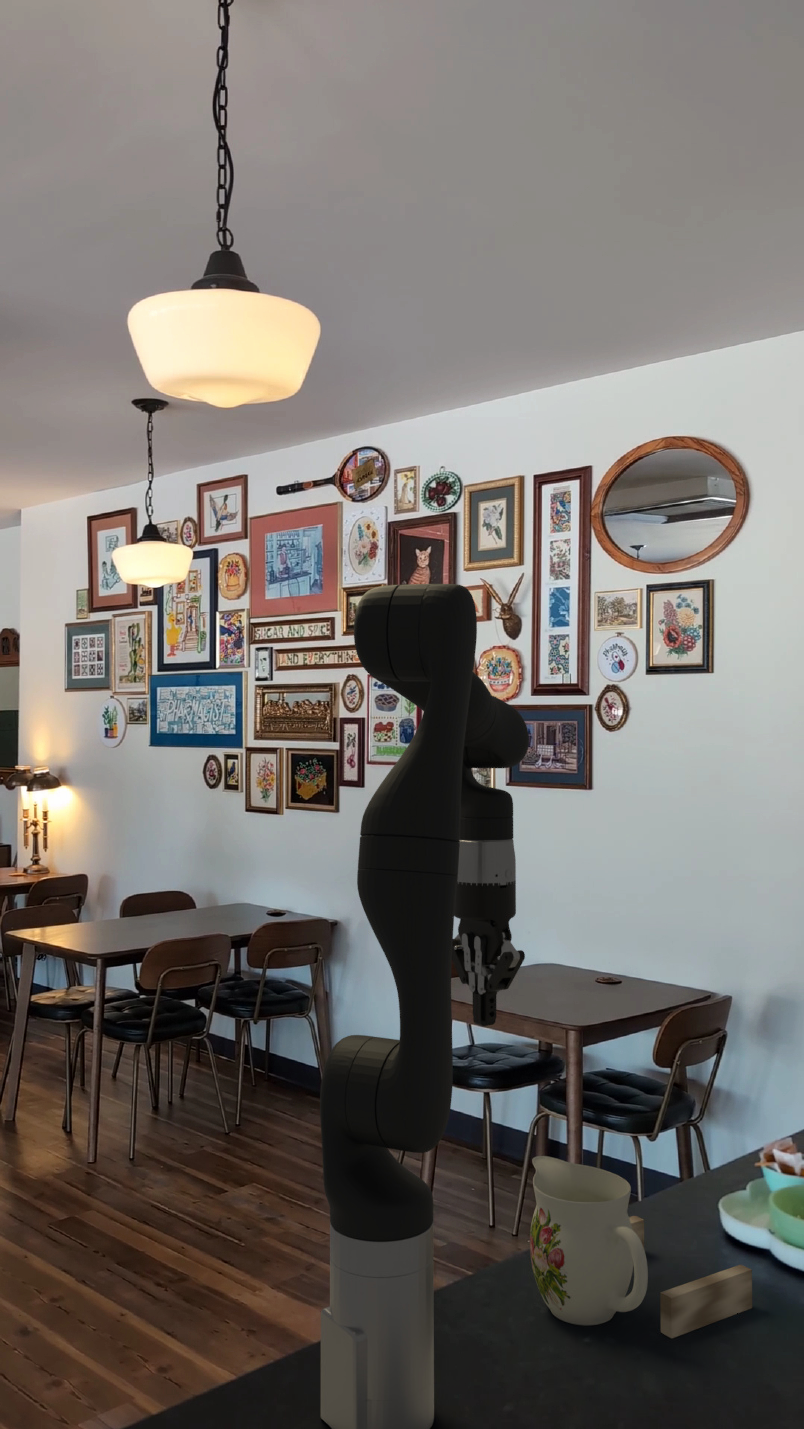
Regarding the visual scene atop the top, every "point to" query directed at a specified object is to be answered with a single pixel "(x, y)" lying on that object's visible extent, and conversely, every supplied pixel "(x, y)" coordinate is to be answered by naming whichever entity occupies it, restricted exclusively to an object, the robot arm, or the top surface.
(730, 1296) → the oak rails
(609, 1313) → the pitcher
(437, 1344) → the top surface
